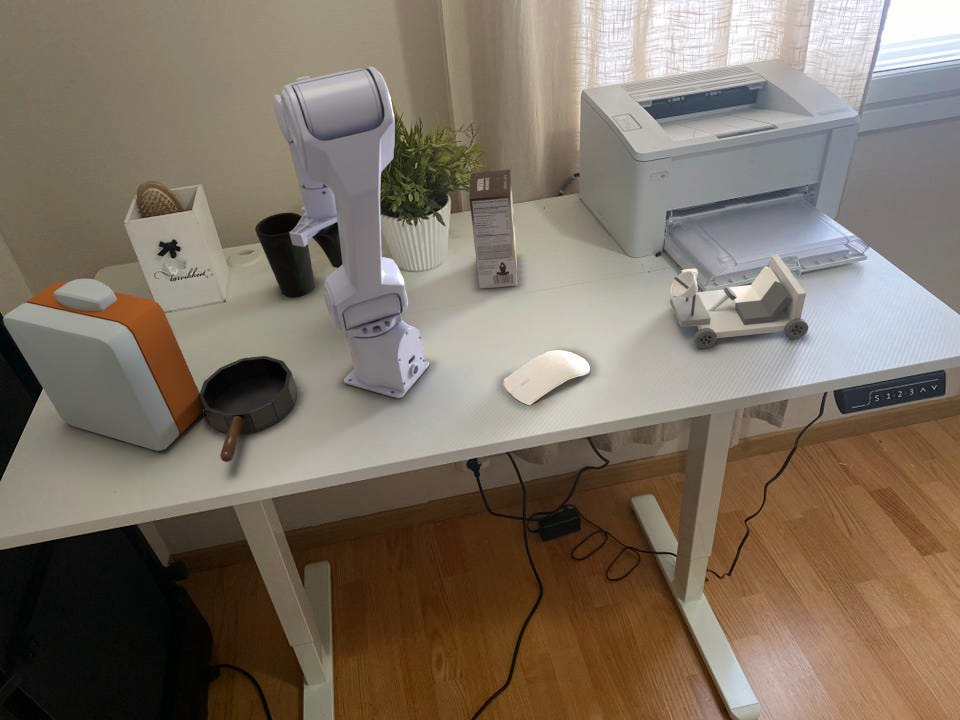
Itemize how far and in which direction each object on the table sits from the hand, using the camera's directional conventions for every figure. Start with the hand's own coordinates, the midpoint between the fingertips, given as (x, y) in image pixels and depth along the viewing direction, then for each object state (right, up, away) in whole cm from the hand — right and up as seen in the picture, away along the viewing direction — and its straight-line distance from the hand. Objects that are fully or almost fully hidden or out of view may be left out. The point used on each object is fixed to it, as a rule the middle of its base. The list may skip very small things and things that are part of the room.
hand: (340, 265), depth 109 cm
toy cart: (+56, -8, -3) cm, 57 cm away
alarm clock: (-26, -22, -8) cm, 35 cm away
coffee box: (+24, 0, +12) cm, 27 cm away
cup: (-10, -2, +14) cm, 17 cm away
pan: (-10, -22, -11) cm, 27 cm away
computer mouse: (+30, -17, -10) cm, 35 cm away
